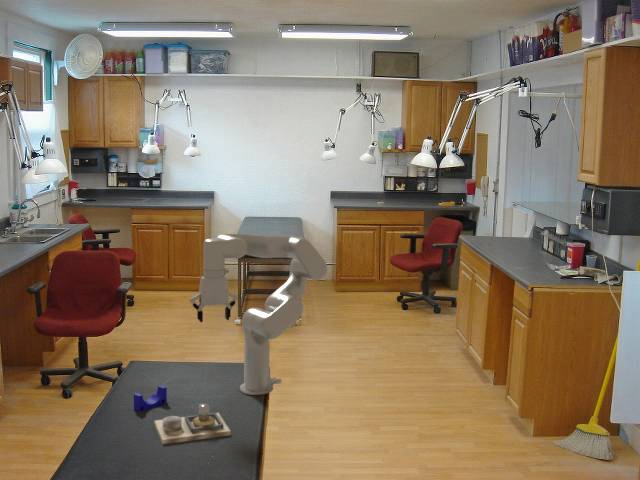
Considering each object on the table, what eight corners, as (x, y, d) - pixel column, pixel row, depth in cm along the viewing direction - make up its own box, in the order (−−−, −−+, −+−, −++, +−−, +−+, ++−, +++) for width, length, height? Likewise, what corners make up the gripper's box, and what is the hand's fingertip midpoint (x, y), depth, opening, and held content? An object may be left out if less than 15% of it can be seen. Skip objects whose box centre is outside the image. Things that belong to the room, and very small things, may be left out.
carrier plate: (218, 416, 261) (218, 404, 261) (230, 435, 247) (230, 422, 246) (154, 424, 253) (154, 412, 253) (162, 444, 239) (162, 430, 238)
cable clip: (158, 399, 276) (158, 384, 275) (166, 403, 273) (166, 387, 272) (131, 409, 267) (131, 392, 266) (139, 412, 264) (138, 396, 263)
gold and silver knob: (212, 418, 256) (212, 400, 255) (216, 426, 249) (216, 408, 248) (191, 421, 253) (191, 402, 252) (195, 429, 247) (195, 410, 246)
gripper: (234, 270, 275) (234, 315, 277) (187, 272, 268) (187, 319, 271) (240, 274, 268) (240, 321, 271) (192, 276, 261) (192, 324, 264)
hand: (214, 320), depth 271 cm, fingers open, 9 cm apart
